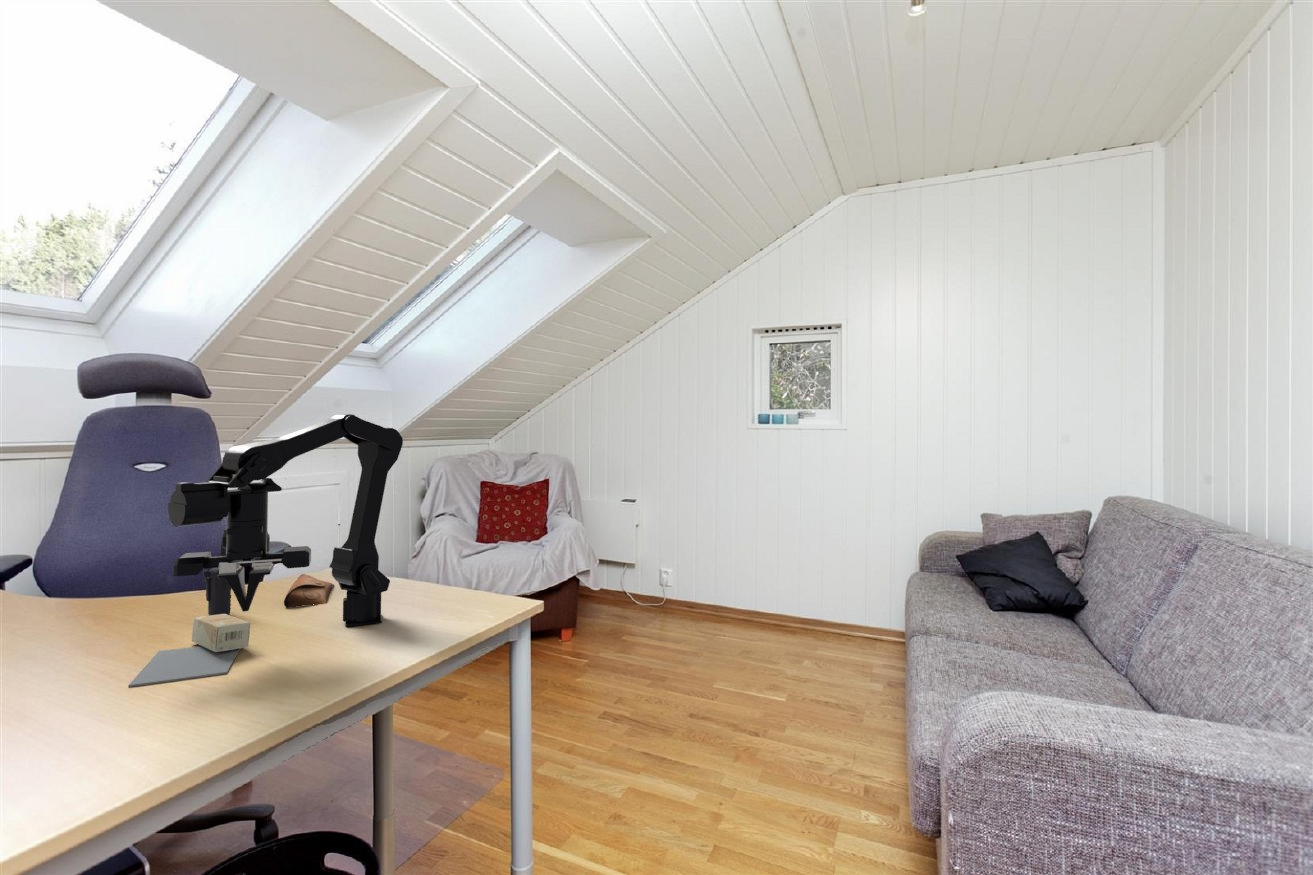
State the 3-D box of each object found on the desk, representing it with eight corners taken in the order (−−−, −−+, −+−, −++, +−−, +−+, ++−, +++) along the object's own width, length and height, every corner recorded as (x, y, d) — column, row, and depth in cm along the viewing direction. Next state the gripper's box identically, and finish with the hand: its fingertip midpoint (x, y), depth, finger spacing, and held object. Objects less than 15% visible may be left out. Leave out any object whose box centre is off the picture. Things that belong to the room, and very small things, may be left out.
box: (217, 626, 99) (191, 617, 106) (214, 653, 99) (189, 642, 105) (252, 621, 104) (225, 613, 110) (250, 647, 103) (223, 636, 109)
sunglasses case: (328, 603, 131) (311, 579, 129) (296, 623, 128) (278, 598, 127) (335, 584, 147) (319, 562, 146) (306, 601, 144) (290, 579, 143)
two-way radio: (232, 616, 121) (233, 543, 121) (206, 621, 117) (207, 546, 117) (225, 611, 124) (225, 540, 124) (198, 615, 121) (199, 542, 121)
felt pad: (243, 642, 107) (243, 641, 107) (226, 673, 93) (226, 671, 93) (158, 652, 101) (158, 651, 101) (128, 687, 88) (128, 685, 88)
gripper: (313, 511, 112) (312, 593, 112) (190, 515, 104) (189, 604, 104) (309, 519, 102) (308, 609, 102) (173, 524, 94) (171, 623, 94)
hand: (246, 610), depth 101 cm, fingers closed
